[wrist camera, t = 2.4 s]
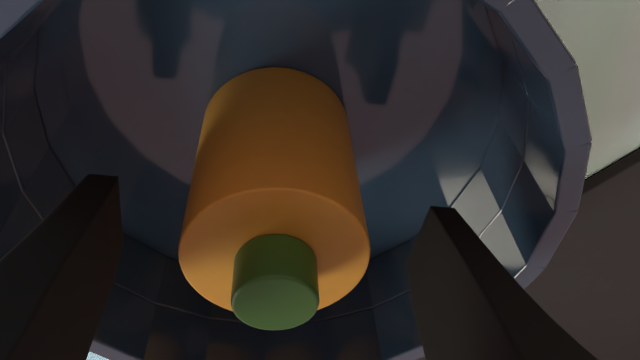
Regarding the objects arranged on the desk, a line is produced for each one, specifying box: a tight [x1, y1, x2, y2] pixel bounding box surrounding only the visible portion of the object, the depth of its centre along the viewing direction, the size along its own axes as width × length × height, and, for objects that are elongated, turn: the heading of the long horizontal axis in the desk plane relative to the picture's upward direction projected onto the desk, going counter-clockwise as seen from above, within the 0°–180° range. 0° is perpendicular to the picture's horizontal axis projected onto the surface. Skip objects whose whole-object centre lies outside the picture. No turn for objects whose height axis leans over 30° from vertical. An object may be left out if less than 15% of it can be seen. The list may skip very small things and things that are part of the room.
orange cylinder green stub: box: [178, 67, 371, 330], centre depth 13 cm, size 4×4×6 cm
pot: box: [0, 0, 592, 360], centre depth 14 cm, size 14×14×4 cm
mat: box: [416, 149, 640, 360], centre depth 24 cm, size 20×14×1 cm
